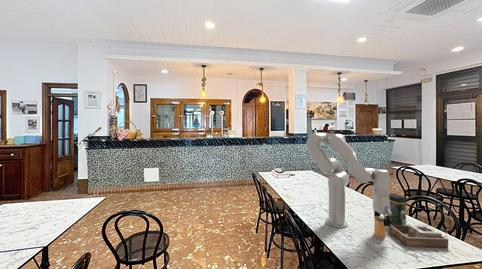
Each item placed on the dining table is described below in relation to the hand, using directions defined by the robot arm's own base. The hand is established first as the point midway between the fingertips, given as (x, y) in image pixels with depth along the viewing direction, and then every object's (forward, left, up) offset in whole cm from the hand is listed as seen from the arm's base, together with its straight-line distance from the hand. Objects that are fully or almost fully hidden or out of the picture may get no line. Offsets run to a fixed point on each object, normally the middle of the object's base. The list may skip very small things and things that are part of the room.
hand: (382, 222), depth 129 cm
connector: (-1, -1, -8) cm, 8 cm away
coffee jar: (-18, +18, -8) cm, 26 cm away
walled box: (+3, +16, -8) cm, 18 cm away
